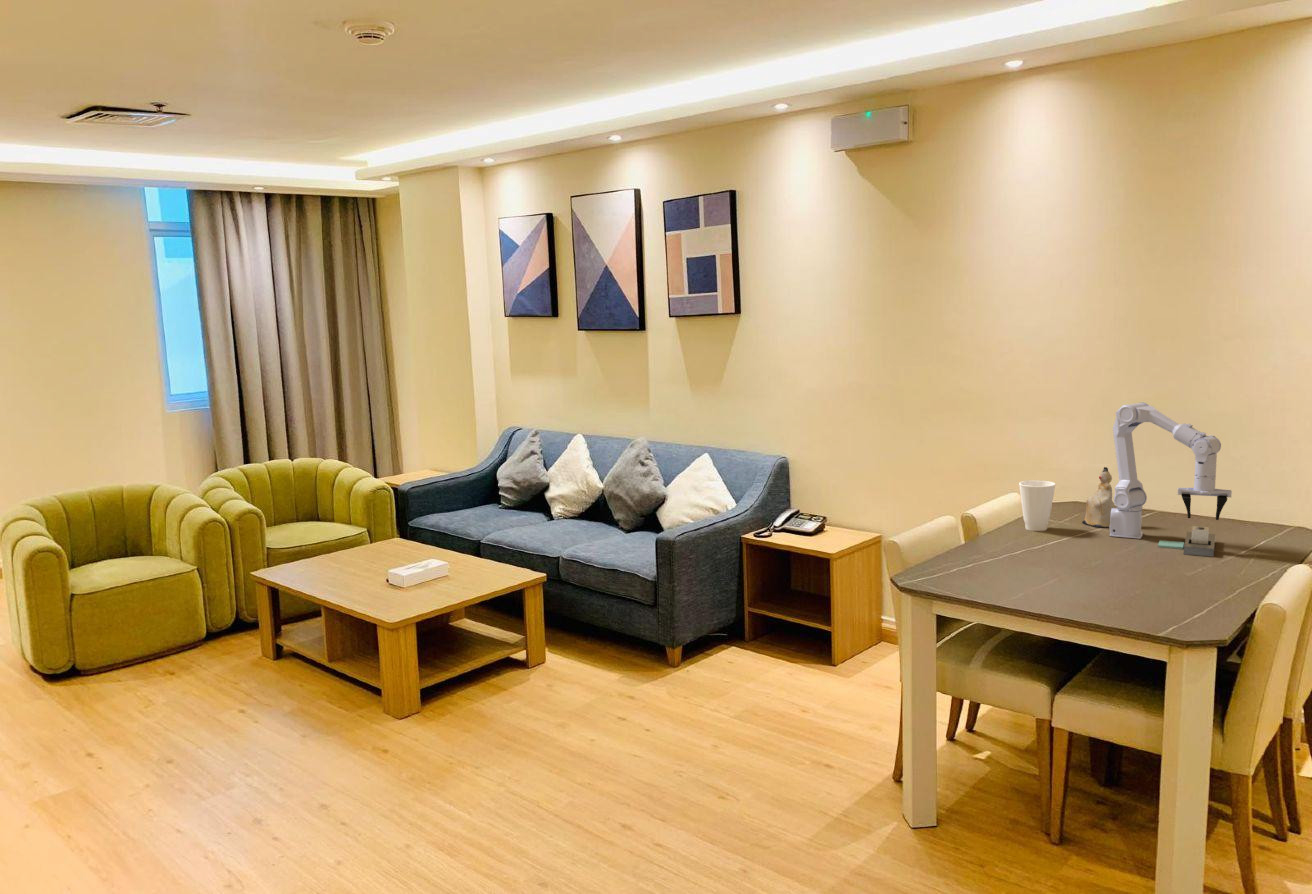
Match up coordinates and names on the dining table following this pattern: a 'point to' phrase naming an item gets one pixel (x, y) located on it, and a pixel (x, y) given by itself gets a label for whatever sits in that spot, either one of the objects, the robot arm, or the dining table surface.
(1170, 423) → the robot arm
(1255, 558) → the dining table surface
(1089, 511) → the figurine
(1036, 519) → the cup
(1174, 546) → the mat
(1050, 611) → the dining table surface
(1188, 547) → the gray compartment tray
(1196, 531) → the cube with screw head
